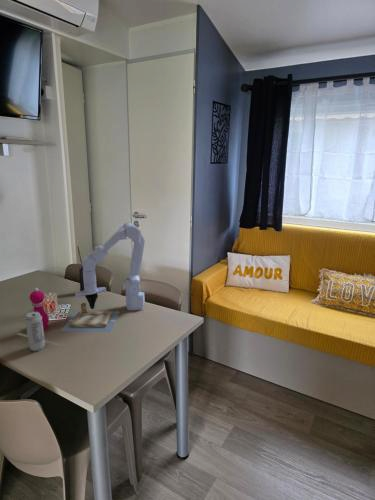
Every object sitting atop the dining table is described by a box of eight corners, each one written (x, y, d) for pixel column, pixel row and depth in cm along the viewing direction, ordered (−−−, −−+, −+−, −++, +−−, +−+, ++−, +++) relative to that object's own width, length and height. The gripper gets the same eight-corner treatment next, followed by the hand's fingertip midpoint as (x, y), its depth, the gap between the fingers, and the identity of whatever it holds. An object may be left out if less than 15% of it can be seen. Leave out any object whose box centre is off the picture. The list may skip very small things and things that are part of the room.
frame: (111, 314, 163) (111, 303, 161) (106, 326, 151) (105, 314, 150) (78, 314, 163) (77, 303, 161) (70, 326, 151) (69, 314, 150)
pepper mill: (33, 334, 146) (27, 292, 141) (32, 327, 152) (26, 286, 147) (50, 331, 149) (45, 289, 144) (49, 324, 156) (44, 283, 150)
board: (119, 312, 167) (119, 311, 167) (110, 333, 148) (110, 331, 147) (75, 312, 167) (75, 310, 167) (60, 332, 148) (60, 331, 148)
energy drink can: (40, 342, 140) (36, 309, 136) (48, 347, 137) (44, 313, 133) (26, 348, 136) (21, 314, 132) (33, 353, 132) (29, 319, 128)
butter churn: (97, 289, 196) (93, 243, 188) (93, 296, 187) (89, 247, 179) (81, 289, 196) (77, 243, 188) (76, 296, 186) (72, 247, 179)
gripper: (101, 276, 167) (103, 301, 170) (72, 282, 159) (74, 308, 163) (106, 280, 161) (108, 306, 165) (76, 287, 153) (79, 314, 157)
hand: (92, 308), depth 163 cm, fingers closed
